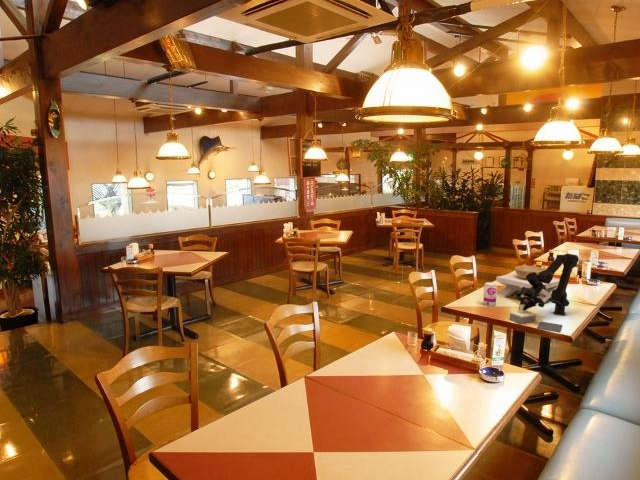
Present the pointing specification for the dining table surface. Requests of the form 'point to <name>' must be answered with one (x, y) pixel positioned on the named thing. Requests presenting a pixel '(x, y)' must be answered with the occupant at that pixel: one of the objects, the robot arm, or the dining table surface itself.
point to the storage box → (522, 319)
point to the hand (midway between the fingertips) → (521, 309)
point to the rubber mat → (549, 326)
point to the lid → (522, 312)
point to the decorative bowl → (525, 282)
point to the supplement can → (490, 294)
